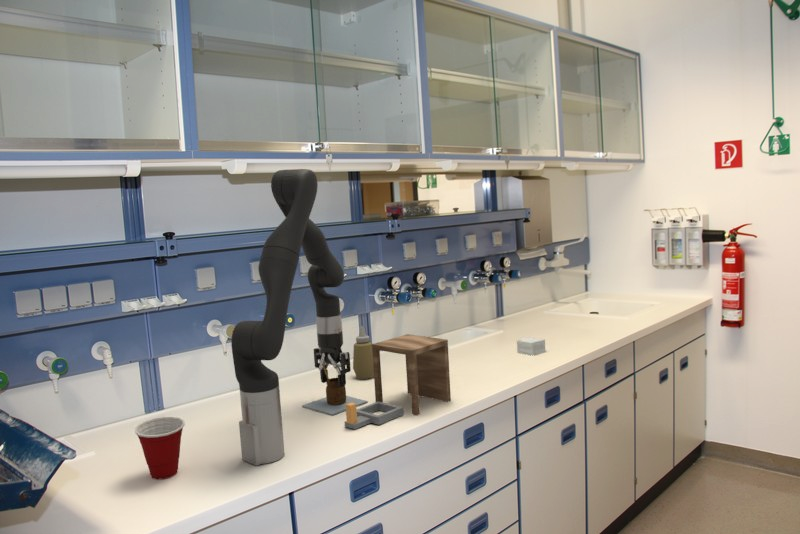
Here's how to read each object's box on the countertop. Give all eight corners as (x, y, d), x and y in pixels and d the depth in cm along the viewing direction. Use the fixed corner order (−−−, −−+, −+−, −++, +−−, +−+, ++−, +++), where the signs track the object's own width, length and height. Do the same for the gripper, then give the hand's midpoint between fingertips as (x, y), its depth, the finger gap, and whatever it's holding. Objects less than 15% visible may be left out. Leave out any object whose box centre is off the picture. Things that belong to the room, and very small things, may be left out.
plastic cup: (146, 489, 136) (140, 436, 134) (134, 474, 144) (129, 424, 143) (195, 474, 142) (191, 424, 141) (181, 460, 151) (176, 412, 150)
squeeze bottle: (381, 376, 216) (378, 325, 214) (365, 382, 210) (361, 329, 208) (365, 373, 221) (362, 323, 219) (348, 378, 215) (345, 327, 213)
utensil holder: (345, 405, 185) (342, 365, 183) (324, 406, 185) (321, 366, 184) (347, 398, 190) (344, 360, 189) (327, 400, 191) (324, 361, 189)
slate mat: (332, 415, 177) (332, 414, 177) (301, 407, 187) (301, 405, 187) (367, 402, 187) (367, 401, 187) (337, 394, 197) (337, 393, 197)
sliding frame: (362, 431, 162) (360, 408, 162) (337, 424, 169) (335, 401, 169) (403, 414, 174) (402, 392, 173) (378, 407, 181) (377, 387, 180)
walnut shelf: (416, 415, 173) (412, 350, 171) (375, 405, 184) (371, 344, 182) (450, 400, 184) (447, 339, 183) (410, 392, 195) (407, 334, 194)
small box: (546, 352, 236) (545, 339, 236) (532, 356, 231) (532, 342, 231) (530, 349, 242) (529, 336, 242) (516, 353, 238) (516, 340, 237)
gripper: (304, 330, 187) (308, 383, 189) (335, 335, 177) (339, 391, 179) (323, 326, 192) (327, 377, 194) (355, 330, 183) (358, 384, 184)
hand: (333, 384), depth 186 cm, fingers open, 7 cm apart
